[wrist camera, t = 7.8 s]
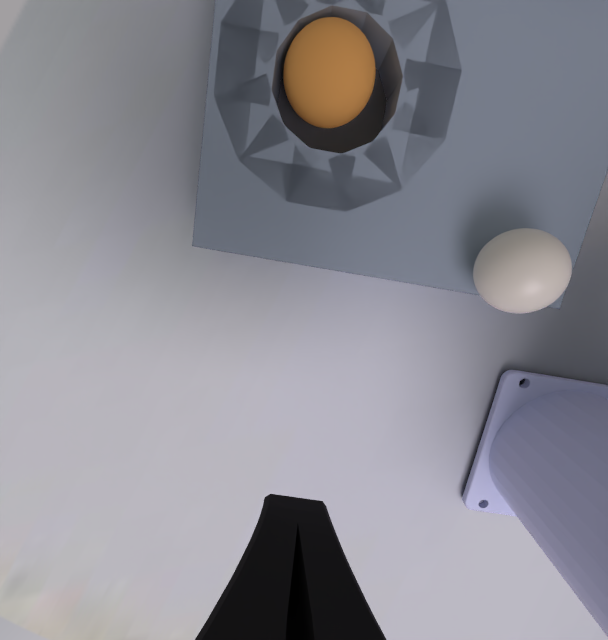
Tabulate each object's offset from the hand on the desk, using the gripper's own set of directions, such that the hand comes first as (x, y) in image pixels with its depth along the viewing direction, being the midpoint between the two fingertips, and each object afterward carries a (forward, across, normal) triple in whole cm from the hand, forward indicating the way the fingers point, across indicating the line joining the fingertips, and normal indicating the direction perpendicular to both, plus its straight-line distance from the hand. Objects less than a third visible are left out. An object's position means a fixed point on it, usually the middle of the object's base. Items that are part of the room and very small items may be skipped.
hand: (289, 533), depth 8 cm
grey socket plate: (+10, -2, -12) cm, 16 cm away
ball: (+8, +1, -12) cm, 15 cm away
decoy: (+6, -7, -7) cm, 11 cm away
